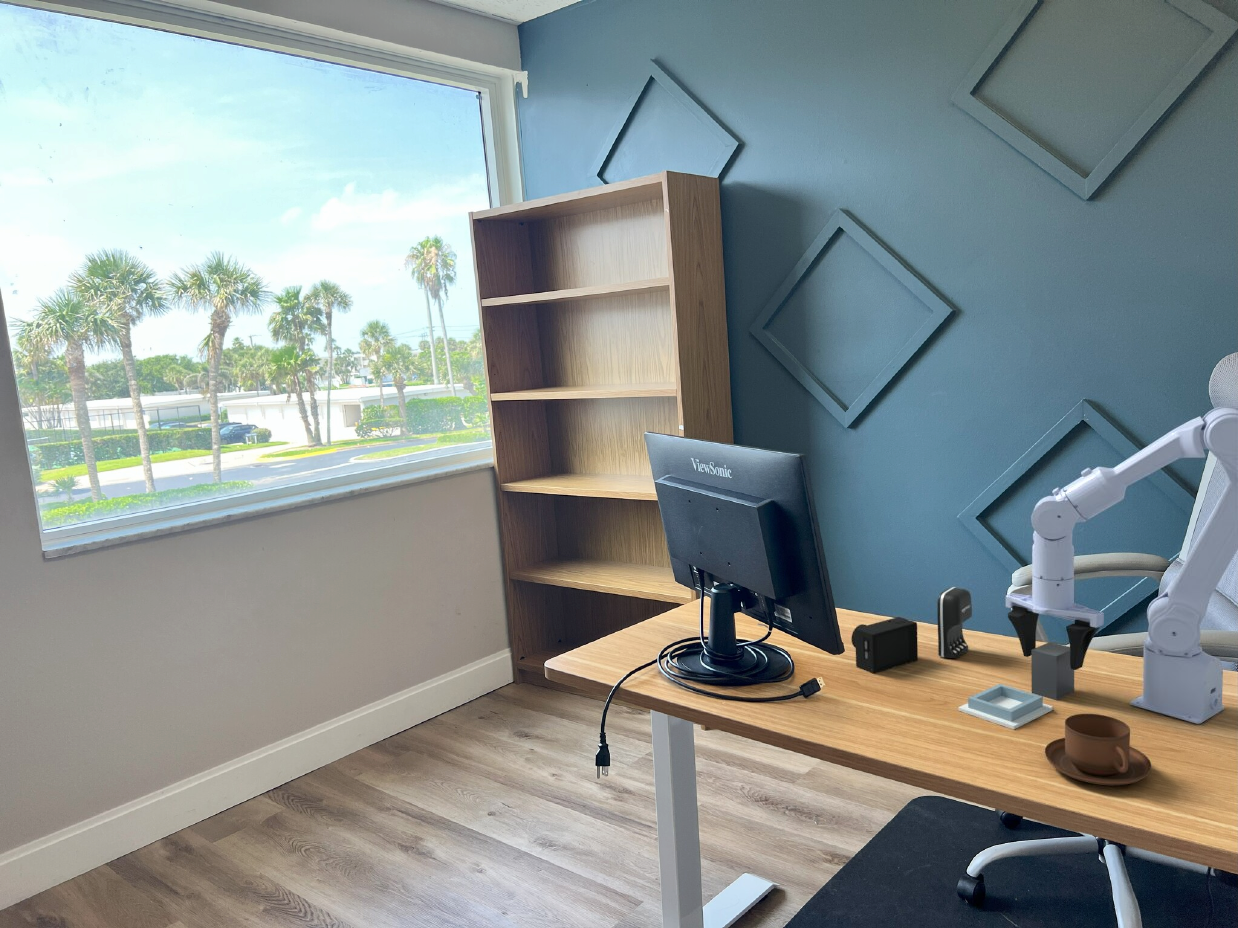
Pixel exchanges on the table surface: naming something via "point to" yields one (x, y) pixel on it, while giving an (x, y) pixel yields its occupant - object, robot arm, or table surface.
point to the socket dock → (1006, 706)
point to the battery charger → (952, 621)
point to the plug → (1052, 671)
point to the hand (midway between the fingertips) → (1052, 661)
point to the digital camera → (885, 644)
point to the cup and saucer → (1097, 751)
